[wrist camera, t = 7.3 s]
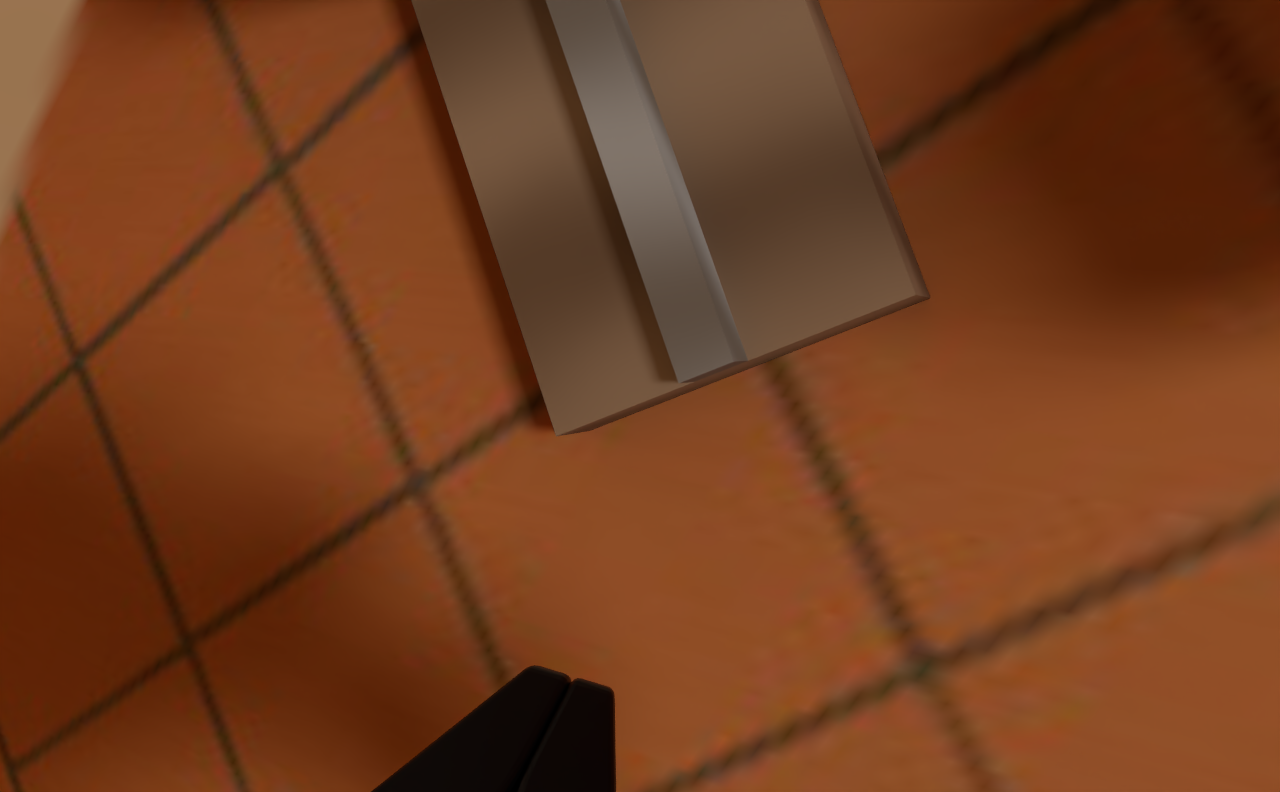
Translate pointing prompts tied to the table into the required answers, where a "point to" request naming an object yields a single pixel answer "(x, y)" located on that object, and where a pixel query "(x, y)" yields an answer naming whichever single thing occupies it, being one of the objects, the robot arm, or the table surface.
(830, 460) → the table surface
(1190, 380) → the table surface
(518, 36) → the track
